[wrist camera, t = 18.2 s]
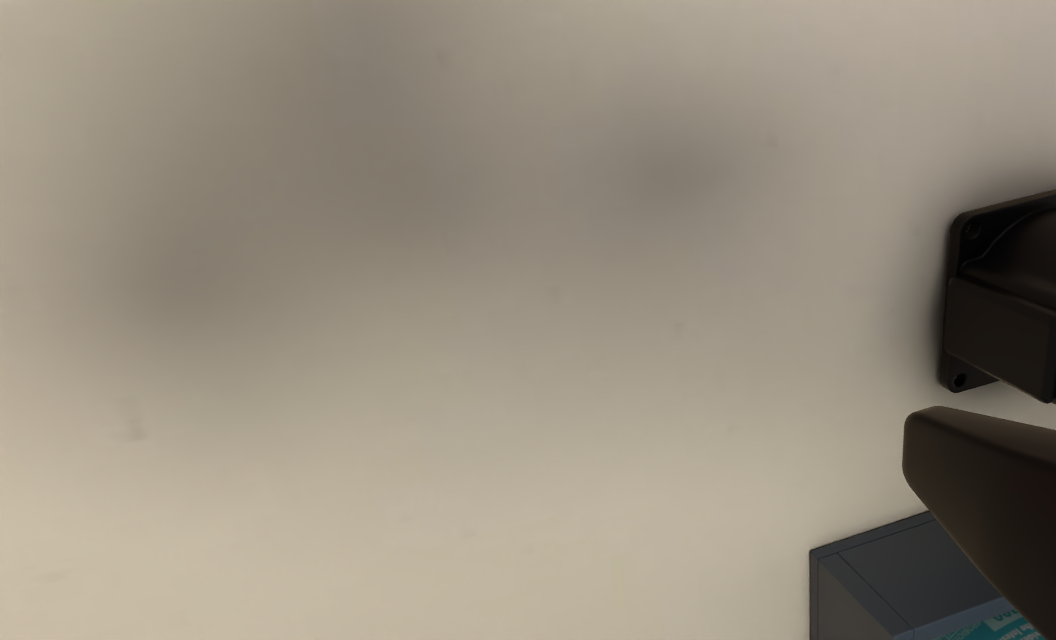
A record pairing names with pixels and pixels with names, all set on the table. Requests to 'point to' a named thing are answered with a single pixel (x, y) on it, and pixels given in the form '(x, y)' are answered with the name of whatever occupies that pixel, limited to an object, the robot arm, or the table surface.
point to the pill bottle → (997, 629)
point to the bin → (898, 585)
